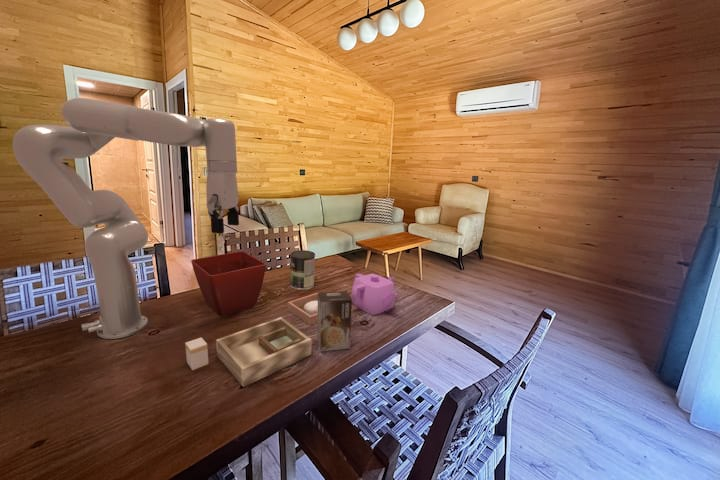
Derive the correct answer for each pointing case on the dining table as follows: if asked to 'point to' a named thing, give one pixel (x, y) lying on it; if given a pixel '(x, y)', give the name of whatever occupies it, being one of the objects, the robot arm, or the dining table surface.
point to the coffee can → (302, 269)
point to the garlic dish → (294, 308)
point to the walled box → (262, 350)
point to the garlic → (311, 307)
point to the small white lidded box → (196, 353)
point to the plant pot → (229, 281)
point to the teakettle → (373, 293)
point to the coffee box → (334, 320)
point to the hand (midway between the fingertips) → (226, 228)
